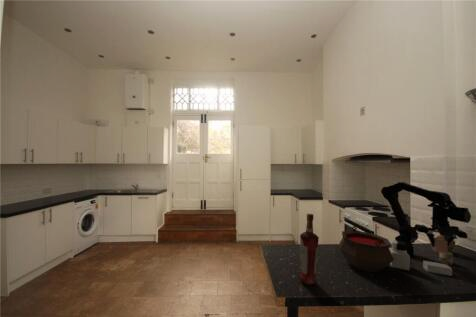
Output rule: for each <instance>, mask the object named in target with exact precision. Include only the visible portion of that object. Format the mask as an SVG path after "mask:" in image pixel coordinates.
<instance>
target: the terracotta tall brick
mask: <svg viewBox="0 0 476 317" xmlns="http://www.w3.org/2000/svg"><path fill="white" fill-rule="evenodd" d="M447 243H448V242H447V241H446V240H444V239H442V238H436V236H434V247H432V245H431V246H430V247H431V250H432V251H434V252H435V253H439V254H440V253H446V254H447Z"/></svg>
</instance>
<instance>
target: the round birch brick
mask: <svg viewBox="0 0 476 317" xmlns="http://www.w3.org/2000/svg"><path fill="white" fill-rule="evenodd" d="M438 257H439V263H441V264H446V265H448V266H449V265H451V266H452V265H453V260H454V259H453V258H454V254H453V253H452V252H447V254H446V253H440V252H439V256H438Z"/></svg>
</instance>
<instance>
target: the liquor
mask: <svg viewBox="0 0 476 317" xmlns="http://www.w3.org/2000/svg"><path fill="white" fill-rule="evenodd" d="M314 217H315V216H314V214H313V213H306V225H305V226H306V227H305V231H304V232H302V233H300V235H299V239H300V243H299V247H300V248H299V249H300V255H299V256H300V274H299V276H298V278H299V280H300V281H301V282H302V283H303V284H305V285H307V286H308V285H309V286H311V285H314V284H315V283H316V282H317V278H316V274H317V260H318V249H319V241H320V240H319V236H318V235H317V234H315V233H314V224H313V222H314Z"/></svg>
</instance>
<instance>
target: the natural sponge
mask: <svg viewBox="0 0 476 317" xmlns="http://www.w3.org/2000/svg"><path fill="white" fill-rule="evenodd" d="M435 238H442V239H444V236H443V235H440V234H439V235H437V236H435ZM455 246H456V240H455V239H454V240H452V241H451V242H450V244H449V246H448V247H447V252H449V253H451V252H452V251H453V250H454V248H455Z"/></svg>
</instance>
